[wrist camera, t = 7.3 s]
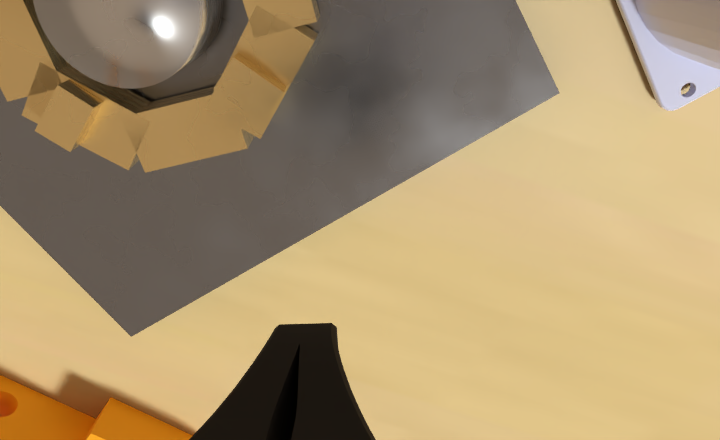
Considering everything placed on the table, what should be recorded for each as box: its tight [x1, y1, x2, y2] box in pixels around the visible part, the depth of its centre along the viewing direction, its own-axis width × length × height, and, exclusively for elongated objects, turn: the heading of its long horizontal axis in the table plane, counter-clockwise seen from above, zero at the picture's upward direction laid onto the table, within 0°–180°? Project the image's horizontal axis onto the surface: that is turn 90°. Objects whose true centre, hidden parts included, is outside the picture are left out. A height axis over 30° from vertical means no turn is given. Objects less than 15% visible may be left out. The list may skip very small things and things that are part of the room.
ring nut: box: [0, 0, 320, 173], centre depth 16 cm, size 11×10×6 cm
